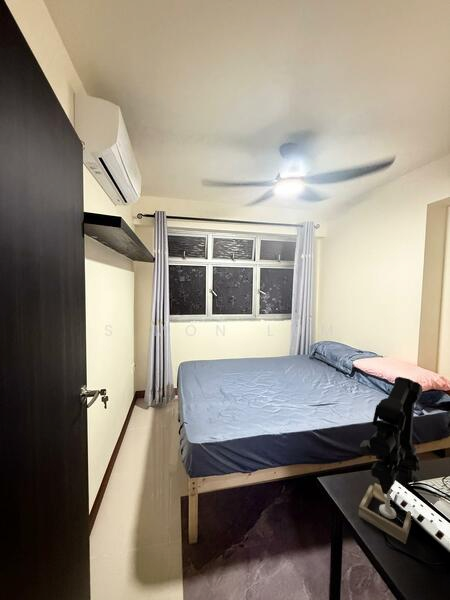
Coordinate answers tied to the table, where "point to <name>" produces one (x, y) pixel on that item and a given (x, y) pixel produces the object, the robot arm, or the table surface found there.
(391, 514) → the chess piece
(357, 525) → the table surface
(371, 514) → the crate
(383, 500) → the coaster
